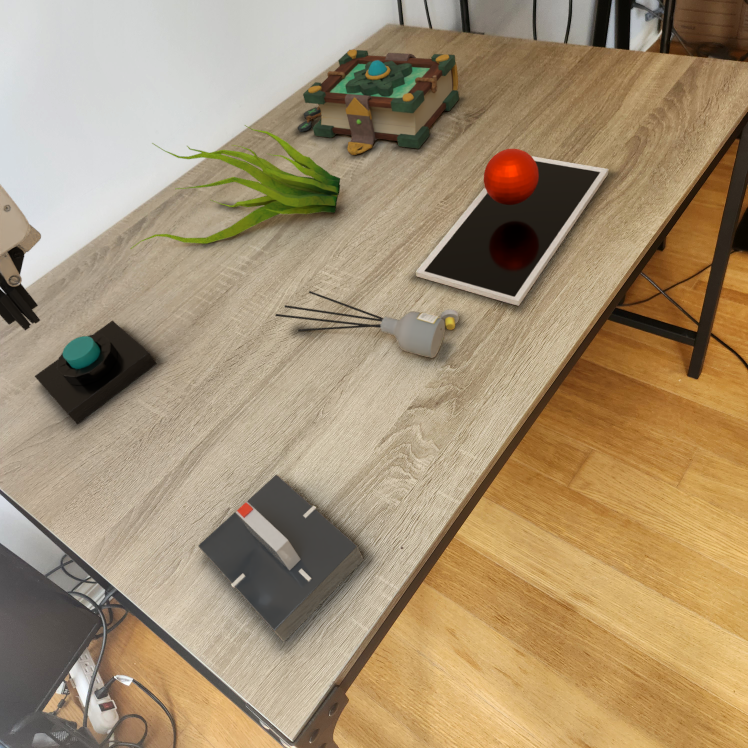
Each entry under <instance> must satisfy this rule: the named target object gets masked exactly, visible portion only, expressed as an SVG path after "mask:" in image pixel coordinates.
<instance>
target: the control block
mask: <svg viewBox="0 0 748 748" xmlns="http://www.w3.org/2000/svg"><path fill="white" fill-rule="evenodd" d="M87 336H88V337H91V338H92V339H93V340H94V341H95V343H96V344H97V345H98V347H99V348H100V355H99V357H98V358H97V360H96V361H94V362H93V363H91V364H90V365H89V366H87V367H84V368H81V369H75V368H73V367H71V365H70V364H69V363H68V362H67V361H66V360H65V358H64V357H63V352H62V353H61V354H60V355H59V357H58V359H56V360H55V361H54V362H51V364H50V365H48V366H46V367H45V368H43V369H42V370H41V371H39V372H38V373H36V374H35V375H34V378H35V379H36V380H37V381H38V382H39V384H40V385H41V386H42V387H43V388H44V389H45V391H46V392H47V393H48V394H49V396H51V397H52V399H54V401H55V402H56V403H57V404H58V405H59V407H61V409H63V411H64V412H65V413H66V414H67V416H68V417H70V419H71V420H72V421H73V422H74V423H75V424H76V425H79V423H81V422H83V420H85V419H86V418H87V417H89V416H90V415H91V414H93V413H94V412H95V411H97V410H98V409H99V408H100V407H102V406H103V405H104V404H106V403H107V402H108V401H109V400H111V399H113V397H115V396H116V395H118V394H119V393H120V392H122V391H123V390H124V389H126V388H127V387H128V386H129V385H130V384H132V383H134V382H135V381H136V380H138V379H139V378H140V377H141V376H142V375H144V374H145V373H147V372H148V371H149V370H151V369H152V368H153V367H154V366H156V365H157V361H156V359H155V358H154V357H153V355H152V354H151V352H150V351H148V350H147V349H146V348H145V347H144V346H143V345H142V344H140V342H138V341H137V340H136V339H135V338H134V337H133V336H131V335H130V334H129V333H128V332H127V331H126V330H124V329H123V328H122V327H121V326H120V325H118V324H117V323H116V322H115V321H114V320H111V321H109V322H108V323H106V324H104V326H103V327H101V328H100V329H98V330H97V331H95V332H94V333H92V334H89V335H87Z"/></svg>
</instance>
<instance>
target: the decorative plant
mask: <svg viewBox="0 0 748 748" xmlns="http://www.w3.org/2000/svg"><path fill="white" fill-rule="evenodd" d="M244 126H245V127H247V128H248V129H250V130H251V131H254V132H258V133H262V134H266V135H268V136H269V137H270V138H271V139H273V140H275V141H276V142H277V144H279V145H280V146H281V147H282V149H283V151H285V152H286V153H287V155H288V156H289V157H287V156H285V155H281V154H280V155H279V154H271V153H266V155H269V156H272V157H273V156H274V157H280V158H283V159H285V160H286V161H288V162H289V163H291V164H292V165H293V166H294V167H295V168H296V169H297V170H298V171H299V172H300V173H302V174H303V175H305V176H300V175H299V176H298V175H296V174H293V173H290V172H287V171H284V170H283V169H280V168H279V167H278V166H276V165H274V164H273V163H271V162H270V161H268V160H267V159H265V158H262V157H260V156H258V155H257V153H256V152H255V151H254V150H252V149H251V148H248V147H244V146H240V145H235V144H232V146H234V147H238V148H242V149H244V150H247V151H249V152H250V153H251V154H250V153H246V152H243V151H237V150H229V149H219V150H215V151H212V152H208V151H205V150H201V149H194V148H190V146H189V145H186V147H187V148H188V150H190V151H192V152H193V151H194V152H198V153H197V154H193V155H189V156H187V155H186V156H182V155H181V156H180V155H177V154H175V153H173V152H170V151H167V150H165V149H163V148H162V147H160V146H158V145H157V144H155V143H154V142H151V144H152V145H153V146H155V147H157V148H158V149H160V150H162V151H163V152H165V153H167V154H169V155H171V156H173V157H175V158H177V159H182V160H195V159H202V158H203V159H204V158H205V159H211V160H219V161H222V162H224V163H226V164H229V165H230V166H233V167H235V168H237V169H240V170H242V171H244V172H246V173H247V174H249V175H250V176H251V177H252V178H254V180H250V179H246V178H241V177H236V176H231V177H228V178H224V179H221V180H217V181H214V182H210V183H207V184H202V185H201V184H200V185H195V186H188V187H179V188H176V190H183V189H184V190H186V189H199V188H210V187H211V188H212V187H216V186H222V185H226V184H231V183H232V184H233V183H236V184H240V185H242V186H243V187H244V186H245V187H247V188H249V189H252V190H255V191H257V192H259V193H262V194H263V196H260V197H256V198H250V199H247V200H240V201H236V202H235V203H234V204H233V205H232V204H231V205H229V204H226V203H221V202H218V201H215V200H212V199H210V201H211V202H214V203H217V204H219V205H223V206H225V207H229V208H237V207H243V208H254V207H258V208H255V209H254V210H253V211H251V212H250V213H249V214H247V215H245V216H244V217H242V218H240V220H238V221H236V222H235V223H234V224H232V225H231V226H229V227H226V228H224V229H222V230H220V231H217V232H215V233H213V234H211V235H209V236H206V237H184V236H183V237H182V236H178V235H174V234H169V233H156V234H152V235H151V236H148V237H146V238H144V239H142V240H140V241H138V242H137V243H135V245H133V246H131V247H130V248H129V249H130V250H132V249H133V248H134V247H136V246H137V245H138V244H140V243H142V242H144V241H147V240H150V239H153V238H155V237H156V238H157V237H161V238H169V239H171V240H175V241H178V242H180V243H185V244H209V243H213V242H218V241H221V240H224V239H228V238H232V237H235V236H237V235H239V234H241V233H242V232H245V231H246V230H248V229H251V228H253V227H254V226H257V225H258V224H261V223H262V222H265V221H267V220H269V219H272V218H274V217H276V216H278V215H292V214H293V215H296V214H297V215H310V214H316V213H333V214H334V213H335V212H336V211H337V204H338V197H339V196H340V191H341V184H340V183H341V177H338V176H336V175H333V174H331V173H330V172H328V171H327V170H326V169H324V167H322V166H320V165H319V164H317V162H315V161H314V160H313V159H312V158H311V157H310V156H307V155H304V154H302V153H301V152H299V150H297V149H296V148H294V147H293V145H291V144H289V142H287V141H285V139H283V138H280V137H279V136H278V135H275V134H274V133H272V132H270V131H267V130H261V129H253V128H251V127H250V126H248V125H246V124H244ZM255 180H256V181H255Z"/></svg>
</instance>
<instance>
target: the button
mask: <svg viewBox="0 0 748 748" xmlns="http://www.w3.org/2000/svg"><path fill="white" fill-rule="evenodd" d="M88 336H89V335H83V336H78V337H76V338H74V339H71V340H70V341H69V342H68V343H67V344H66V345H65V346H64V348H63V350H62V353H63V357H64V358H65V360H66V361H67V362H68V363H69V364H70V365H71V367H73V368H75V369H81V368H84V367H87V366H89V365H90V364H91V363H93V362H94V361H96V360H97V358H98V357H99V355H100V348H99V347H98V345H97V344H96V343H95V341H94V340H93V339H92V338H91V337H88Z"/></svg>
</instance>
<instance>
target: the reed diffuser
mask: <svg viewBox="0 0 748 748" xmlns="http://www.w3.org/2000/svg"><path fill="white" fill-rule="evenodd" d="M308 294H311V295H313V296H316V297H319V298H321V299H325V300H327V301H329V302H332V303H335V304H338V305H341V306H343V307H346V308H349V309H352V310H354V311H356V312H360V313H363V314H364V315H367V316H363V315H355V314H348V313H341V312H334V311H327V310H321V309H313V308H306V307H302V306H301V307H300V306H293V305H287V304H285V305H284V308H286V309H287V308H288V309H293V310H300V311H305V312H306V311H308V312H313V313H321V314H327V315H334V316H340V317H347V318H354V319H361V320H368V321H375V322H380V323H377V324H376V323H375V324H372V323H371V324H370V323H360V322H351V321H343V320H333V319H324V318H317V317H308V316H307V317H306V316H298V315H291V314H290V315H288V314H282V313H281V314H280V313H275V317H280V318H288V319H297V320H306V321H316V322H324V323H333V324H343V325H344V326H331V327H330V326H329V327H328V326H327V327H313V328H311V327H310V328H298V329H297V332H311V331H313V332H314V331H328V330H345V329H360V328H378V329H380V332H381V333H384V334H387V335H391V336H394V337H395V340H396V342H397V345H398V347H399V348H400V349H401V350H402V351H404V352H407V353H410V354H414V355H419V356H422V357H426V358H431V359H434V358H435V357H436V356H437V355H438V353H439V351H440V349H441V346H442V343H443V339H444V336H445V328H446V330H449V331H452V330H454V329H455V327H456V324H457V323H458V322H459V319H460V318H459V317H460V316H459V312H458V311H457V310H455V309H450V308H449V309H445V310H443V311H442V312H441V313H440V314H439V315H440V316H438V315H435V314H432V313H427V312H425V311H421V312H420V311H415V310H414V311H409V312H407V313H405V314H404V315H403V316H401V318H399V319H397V318H394V317H390V316H384V317H382V316H379V315H376V314H373V313H372V312H368V311H366V310H363V309H360V308H357V307H354V306H352V305H349V304H346V303H344V302H341V301H339V300H336V299H333V298H330V297H327V296H325V295H322V294H319V293H316V292H314V291H311V290H309V291H308ZM369 316H370V317H369Z"/></svg>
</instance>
